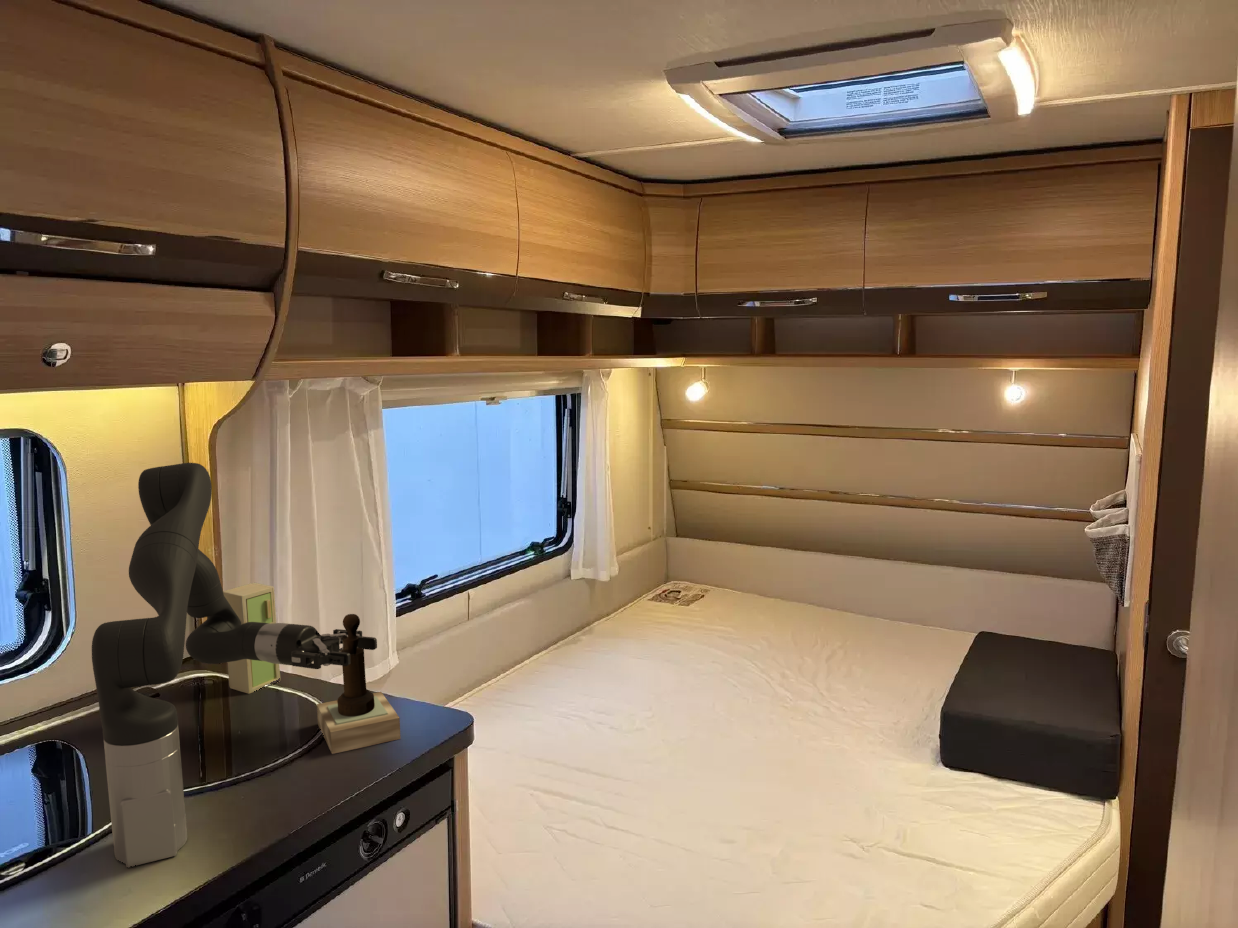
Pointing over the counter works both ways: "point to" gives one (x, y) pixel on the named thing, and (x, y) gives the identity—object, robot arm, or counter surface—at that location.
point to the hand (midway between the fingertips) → (363, 651)
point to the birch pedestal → (358, 725)
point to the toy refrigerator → (252, 607)
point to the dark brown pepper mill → (354, 675)
